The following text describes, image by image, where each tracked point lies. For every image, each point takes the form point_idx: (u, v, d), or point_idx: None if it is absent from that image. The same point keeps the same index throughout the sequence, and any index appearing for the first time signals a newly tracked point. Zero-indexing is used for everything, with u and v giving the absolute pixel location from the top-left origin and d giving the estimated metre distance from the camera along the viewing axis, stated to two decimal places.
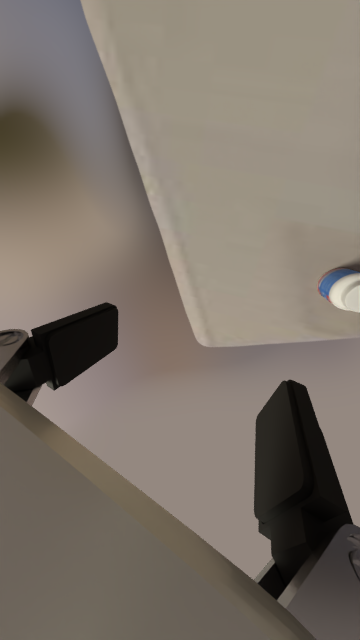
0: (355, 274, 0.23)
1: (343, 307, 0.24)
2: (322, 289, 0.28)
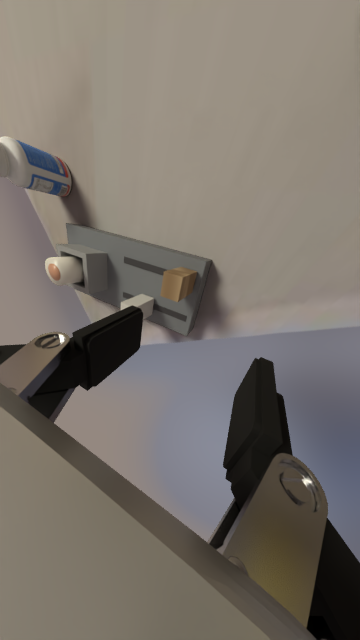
0: (20, 151, 0.22)
1: None
2: None
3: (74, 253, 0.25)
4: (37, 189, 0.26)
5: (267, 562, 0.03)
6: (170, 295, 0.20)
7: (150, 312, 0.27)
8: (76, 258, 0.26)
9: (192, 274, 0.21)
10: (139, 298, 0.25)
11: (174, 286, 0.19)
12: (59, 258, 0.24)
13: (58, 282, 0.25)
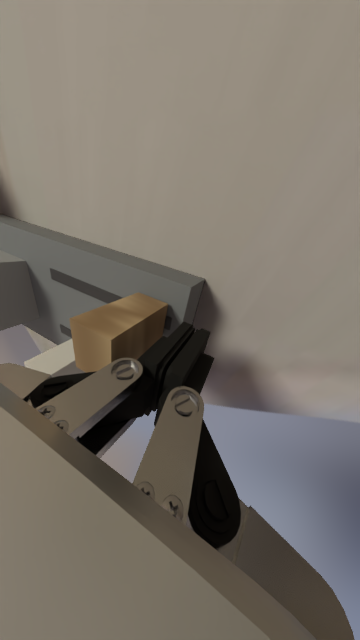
0: None
1: None
2: None
3: None
4: None
5: (166, 467, 0.04)
6: (94, 371, 0.08)
7: None
8: None
9: (153, 315, 0.09)
10: None
11: (98, 354, 0.07)
12: None
13: None
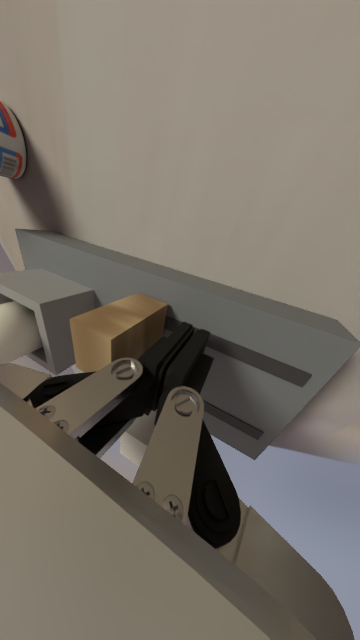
0: None
1: None
2: None
3: (17, 299, 0.11)
4: None
5: (166, 467, 0.04)
6: (94, 371, 0.08)
7: None
8: (24, 307, 0.12)
9: (153, 315, 0.09)
10: None
11: (97, 355, 0.07)
12: None
13: None
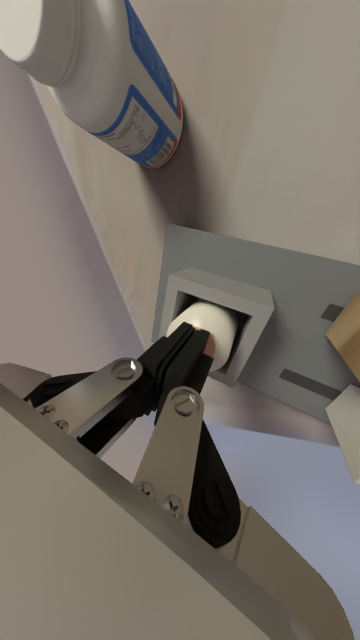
0: None
1: None
2: None
3: (227, 302, 0.10)
4: (122, 141, 0.11)
5: (166, 467, 0.04)
6: None
7: None
8: None
9: None
10: None
11: None
12: (212, 312, 0.10)
13: None
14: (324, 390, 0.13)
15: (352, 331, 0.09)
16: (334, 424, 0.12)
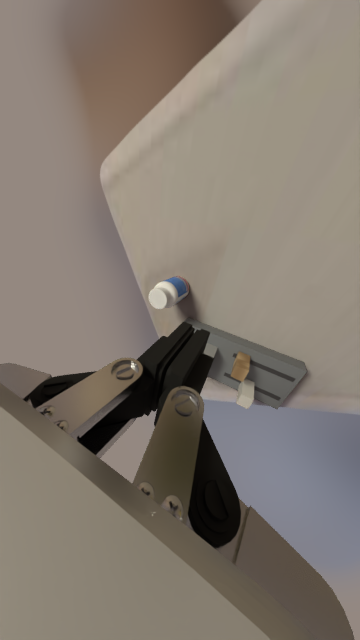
0: (176, 292, 0.32)
1: None
2: (170, 278, 0.35)
3: None
4: None
5: (166, 467, 0.04)
6: (238, 377, 0.32)
7: None
8: None
9: (249, 361, 0.33)
10: (247, 385, 0.35)
11: (242, 373, 0.31)
12: None
13: None
14: (237, 380, 0.38)
15: (234, 362, 0.34)
16: (238, 390, 0.37)
